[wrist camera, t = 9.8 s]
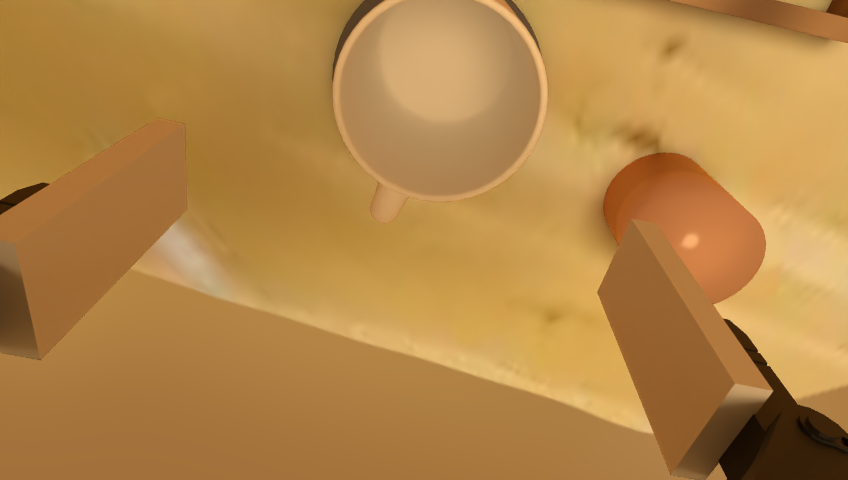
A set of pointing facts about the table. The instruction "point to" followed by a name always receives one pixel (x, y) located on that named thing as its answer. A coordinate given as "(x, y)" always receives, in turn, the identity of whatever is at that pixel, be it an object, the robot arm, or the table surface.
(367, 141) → the mug
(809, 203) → the table surface
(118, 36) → the table surface
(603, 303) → the robot arm
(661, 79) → the table surface
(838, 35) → the frame
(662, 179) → the orange rounded cylinder
